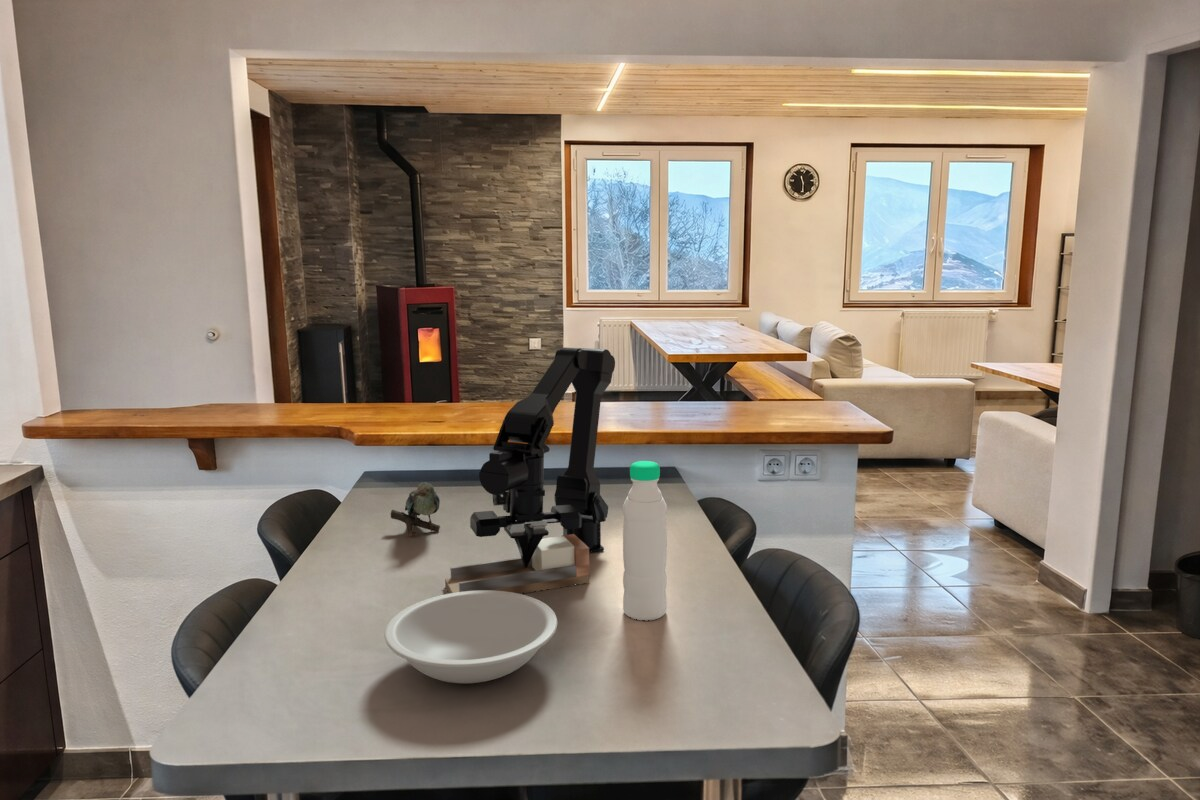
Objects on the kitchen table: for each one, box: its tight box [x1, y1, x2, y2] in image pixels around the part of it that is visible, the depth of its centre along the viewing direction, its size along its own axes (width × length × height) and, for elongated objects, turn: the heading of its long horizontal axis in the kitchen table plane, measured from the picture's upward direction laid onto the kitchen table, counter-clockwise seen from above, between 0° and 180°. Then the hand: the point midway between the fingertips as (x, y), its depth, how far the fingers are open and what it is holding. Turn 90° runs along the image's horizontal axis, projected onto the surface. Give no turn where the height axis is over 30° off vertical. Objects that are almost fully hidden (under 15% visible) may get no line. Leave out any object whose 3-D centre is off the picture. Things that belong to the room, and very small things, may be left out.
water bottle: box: [622, 460, 668, 622], centre depth 136 cm, size 7×7×25 cm
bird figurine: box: [390, 481, 441, 538], centre depth 178 cm, size 13×10×20 cm
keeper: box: [532, 535, 575, 571], centre depth 152 cm, size 6×6×5 cm
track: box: [444, 534, 591, 595], centre depth 150 cm, size 24×8×6 cm, turn 111°
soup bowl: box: [384, 590, 558, 684], centre depth 121 cm, size 24×24×7 cm
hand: (525, 567), depth 150 cm, fingers closed
